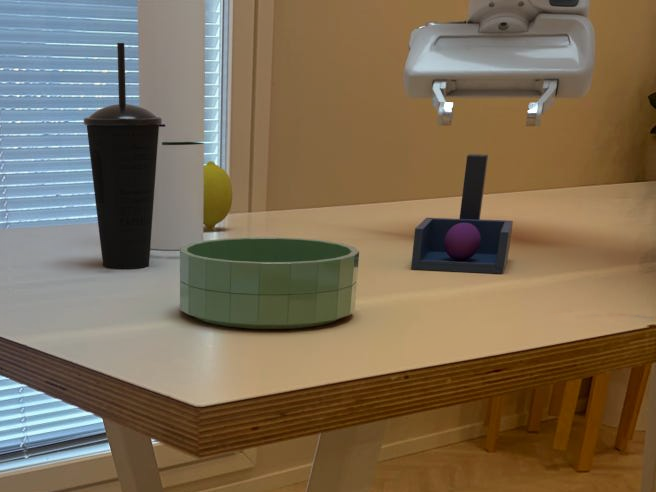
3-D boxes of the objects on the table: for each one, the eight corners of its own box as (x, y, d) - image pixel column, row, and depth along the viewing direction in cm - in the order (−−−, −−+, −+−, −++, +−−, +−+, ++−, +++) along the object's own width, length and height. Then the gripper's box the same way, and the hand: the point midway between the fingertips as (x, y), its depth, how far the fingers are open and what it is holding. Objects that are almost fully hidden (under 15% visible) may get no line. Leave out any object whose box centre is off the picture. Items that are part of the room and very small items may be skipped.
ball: (481, 247, 106) (484, 215, 103) (476, 268, 104) (479, 237, 102) (445, 245, 107) (448, 214, 104) (440, 267, 105) (442, 235, 103)
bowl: (366, 302, 89) (371, 241, 86) (335, 337, 77) (340, 267, 74) (208, 293, 92) (209, 234, 90) (156, 325, 81) (155, 258, 78)
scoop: (508, 257, 111) (523, 155, 106) (502, 273, 102) (518, 162, 97) (424, 253, 114) (434, 153, 109) (410, 269, 104) (421, 160, 99)
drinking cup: (155, 271, 103) (152, 41, 93) (81, 269, 104) (71, 42, 94) (169, 260, 110) (167, 43, 100) (99, 258, 111) (91, 44, 101)
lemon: (215, 226, 135) (216, 159, 131) (240, 230, 131) (241, 161, 127) (180, 229, 132) (180, 160, 129) (204, 233, 128) (205, 163, 125)
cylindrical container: (159, 240, 123) (156, -5, 112) (213, 243, 121) (216, -8, 109) (130, 247, 118) (124, -10, 106) (186, 251, 115) (187, -12, 103)
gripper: (412, -1, 116) (391, 99, 112) (605, -6, 110) (589, 99, 107) (413, 46, 122) (393, 142, 118) (596, 43, 116) (581, 144, 112)
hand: (488, 121), depth 112 cm, fingers open, 8 cm apart
